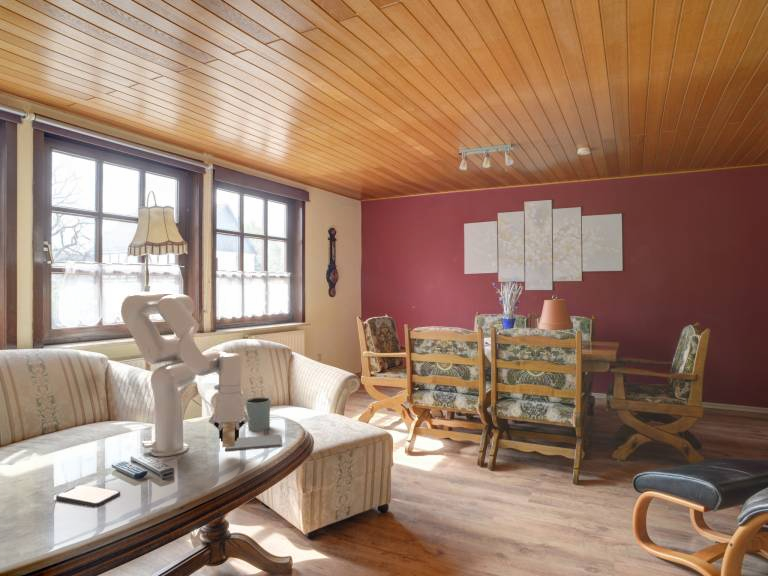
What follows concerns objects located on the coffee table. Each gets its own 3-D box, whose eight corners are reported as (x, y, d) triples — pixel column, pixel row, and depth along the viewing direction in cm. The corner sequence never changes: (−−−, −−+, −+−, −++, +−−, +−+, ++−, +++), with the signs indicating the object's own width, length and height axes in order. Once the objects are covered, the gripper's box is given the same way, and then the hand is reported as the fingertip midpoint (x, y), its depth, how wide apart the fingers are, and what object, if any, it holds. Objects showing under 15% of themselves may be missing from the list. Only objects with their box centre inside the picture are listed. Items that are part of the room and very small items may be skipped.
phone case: (122, 496, 146) (81, 488, 151) (122, 491, 146) (81, 483, 151) (96, 510, 137) (53, 501, 142) (96, 504, 137) (53, 496, 142)
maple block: (222, 447, 173) (222, 418, 173) (223, 443, 177) (224, 415, 177) (234, 446, 174) (234, 418, 174) (235, 442, 178) (235, 414, 178)
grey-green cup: (253, 433, 202) (253, 404, 202) (242, 428, 210) (241, 399, 210) (275, 428, 209) (275, 399, 209) (263, 423, 217) (263, 395, 216)
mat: (225, 450, 182) (225, 448, 182) (228, 440, 194) (228, 438, 193) (281, 446, 186) (281, 444, 186) (280, 436, 198) (280, 434, 198)
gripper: (203, 391, 170) (202, 444, 170) (253, 390, 173) (253, 442, 174) (206, 386, 177) (205, 437, 178) (254, 385, 181) (254, 435, 181)
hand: (229, 439), depth 176 cm, fingers closed on maple block, 4 cm apart
